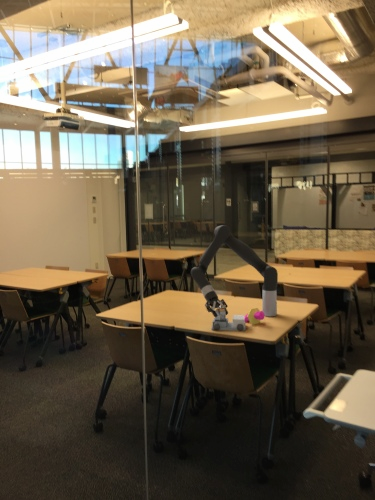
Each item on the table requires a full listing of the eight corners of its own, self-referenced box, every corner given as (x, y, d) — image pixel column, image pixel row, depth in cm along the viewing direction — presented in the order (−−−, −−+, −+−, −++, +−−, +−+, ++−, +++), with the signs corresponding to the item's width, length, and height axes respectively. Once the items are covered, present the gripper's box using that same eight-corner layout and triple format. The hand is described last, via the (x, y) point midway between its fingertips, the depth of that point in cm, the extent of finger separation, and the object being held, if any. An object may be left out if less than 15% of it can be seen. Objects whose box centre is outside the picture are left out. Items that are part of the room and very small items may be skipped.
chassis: (245, 324, 254) (245, 314, 253) (245, 331, 241) (245, 320, 240) (213, 324, 257) (213, 313, 256) (211, 330, 244) (211, 319, 243)
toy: (254, 319, 268) (246, 306, 267) (272, 317, 253) (264, 303, 252) (244, 328, 262) (236, 314, 262) (262, 326, 247) (254, 312, 246)
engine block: (220, 323, 253) (220, 307, 252) (225, 325, 249) (225, 308, 248) (215, 324, 250) (215, 308, 249) (220, 326, 246) (219, 310, 245)
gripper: (203, 292, 249) (215, 314, 241) (220, 288, 258) (233, 310, 250) (197, 299, 254) (210, 321, 246) (215, 295, 262) (227, 316, 254)
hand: (221, 315), depth 248 cm, fingers open, 8 cm apart
